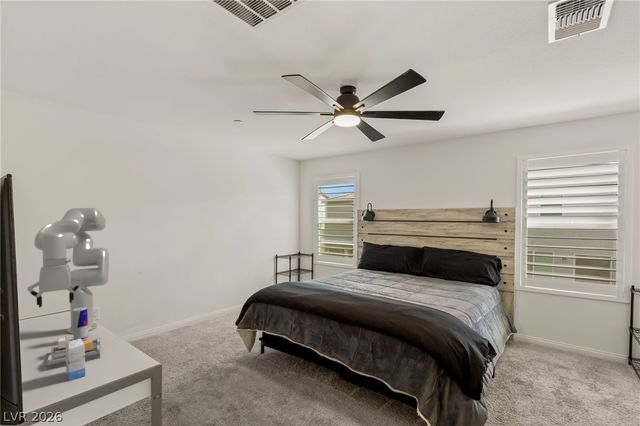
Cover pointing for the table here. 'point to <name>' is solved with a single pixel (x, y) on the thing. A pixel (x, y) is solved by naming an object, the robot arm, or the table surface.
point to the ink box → (75, 358)
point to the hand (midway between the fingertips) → (55, 304)
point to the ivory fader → (61, 343)
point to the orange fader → (88, 345)
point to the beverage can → (80, 323)
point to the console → (59, 355)
